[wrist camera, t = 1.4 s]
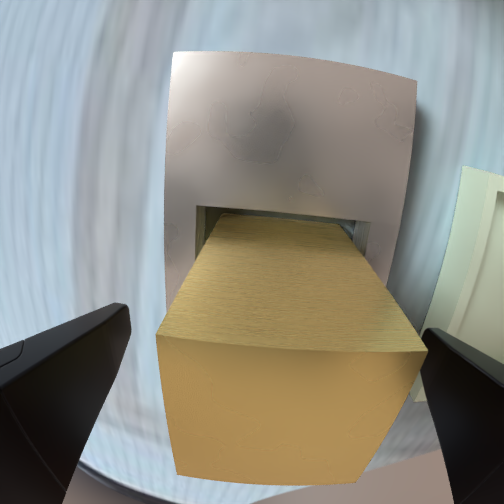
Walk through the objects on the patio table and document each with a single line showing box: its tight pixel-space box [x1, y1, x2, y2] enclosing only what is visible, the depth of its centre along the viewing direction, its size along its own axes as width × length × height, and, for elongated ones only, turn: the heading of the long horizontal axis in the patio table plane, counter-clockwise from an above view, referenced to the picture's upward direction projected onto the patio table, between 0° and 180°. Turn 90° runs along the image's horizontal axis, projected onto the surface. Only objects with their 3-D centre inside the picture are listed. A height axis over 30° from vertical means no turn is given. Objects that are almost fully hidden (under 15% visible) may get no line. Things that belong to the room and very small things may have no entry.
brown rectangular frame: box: [164, 51, 417, 312], centre depth 12 cm, size 8×16×2 cm, turn 175°
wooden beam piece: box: [156, 213, 428, 485], centre depth 9 cm, size 4×4×8 cm
